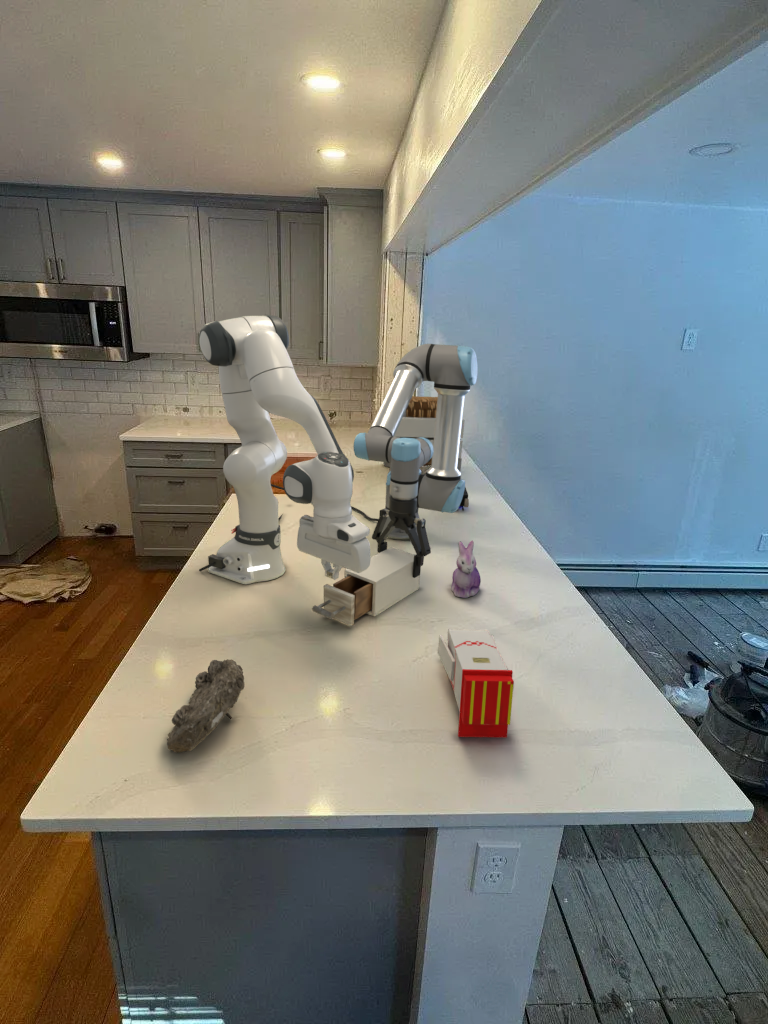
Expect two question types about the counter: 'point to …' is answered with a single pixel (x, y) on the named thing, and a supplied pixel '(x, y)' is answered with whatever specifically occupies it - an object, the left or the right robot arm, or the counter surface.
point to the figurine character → (464, 500)
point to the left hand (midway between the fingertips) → (331, 577)
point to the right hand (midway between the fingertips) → (399, 569)
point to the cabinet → (389, 578)
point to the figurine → (466, 573)
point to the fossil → (206, 705)
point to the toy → (478, 682)
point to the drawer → (346, 600)
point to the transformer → (422, 423)
